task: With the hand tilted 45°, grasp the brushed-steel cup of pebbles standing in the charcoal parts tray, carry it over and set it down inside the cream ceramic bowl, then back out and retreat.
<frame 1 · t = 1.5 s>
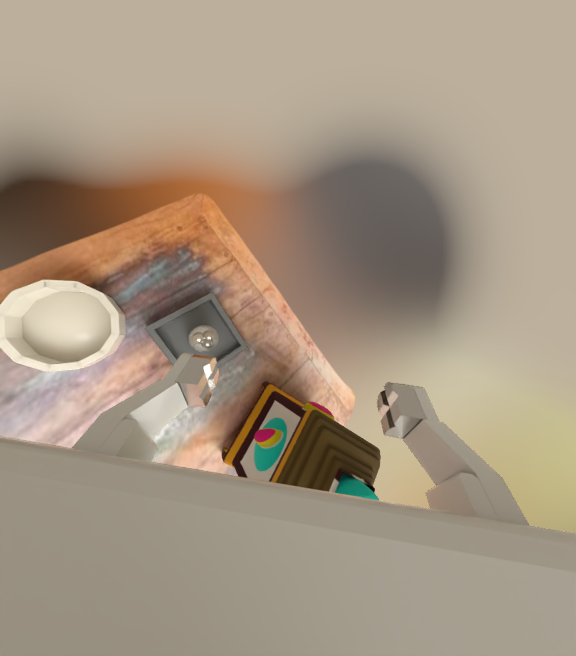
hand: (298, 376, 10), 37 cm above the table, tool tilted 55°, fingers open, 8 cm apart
parts tray: (199, 338, 43), on the table
bowl: (76, 326, 34), on the table
decorative lantern: (272, 429, 49), on the table
pebble cup: (200, 338, 42), point 1 cm above the table, touching parts tray
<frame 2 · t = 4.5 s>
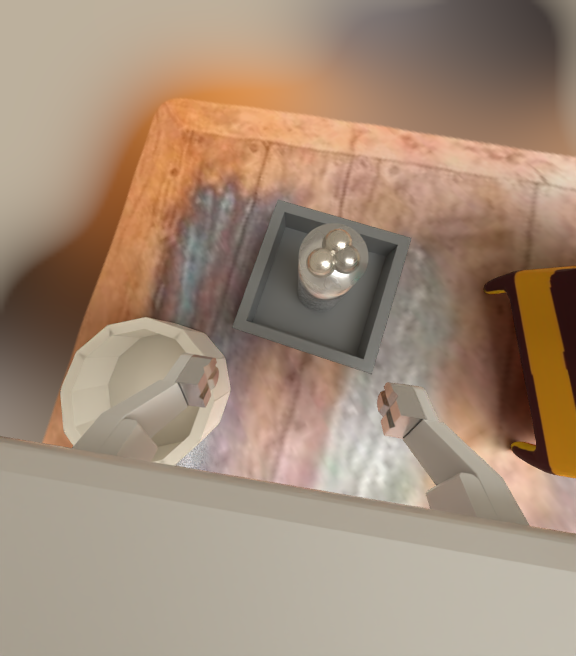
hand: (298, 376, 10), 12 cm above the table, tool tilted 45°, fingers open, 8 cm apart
parts tray: (318, 292, 23), on the table
bowl: (168, 386, 22), on the table
pebble cup: (319, 290, 22), point 1 cm above the table, touching parts tray
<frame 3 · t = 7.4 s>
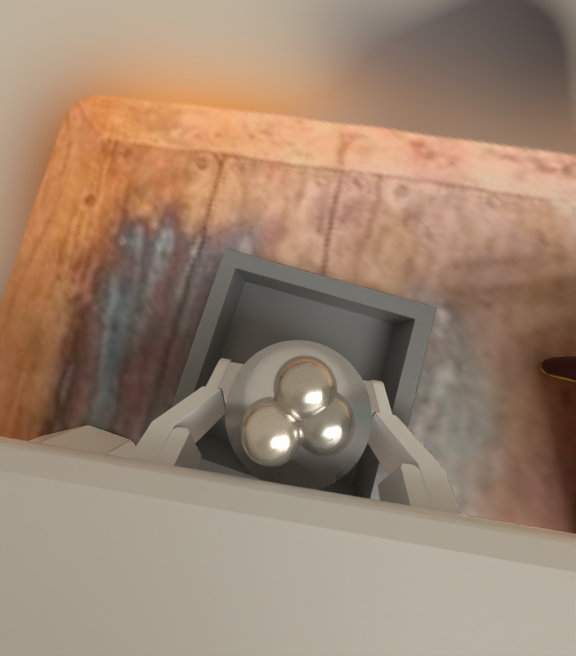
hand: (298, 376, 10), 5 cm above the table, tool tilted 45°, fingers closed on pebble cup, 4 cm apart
parts tray: (296, 375, 15), on the table
bowl: (76, 523, 15), on the table
pebble cup: (296, 377, 14), point 1 cm above the table, touching gripper, parts tray
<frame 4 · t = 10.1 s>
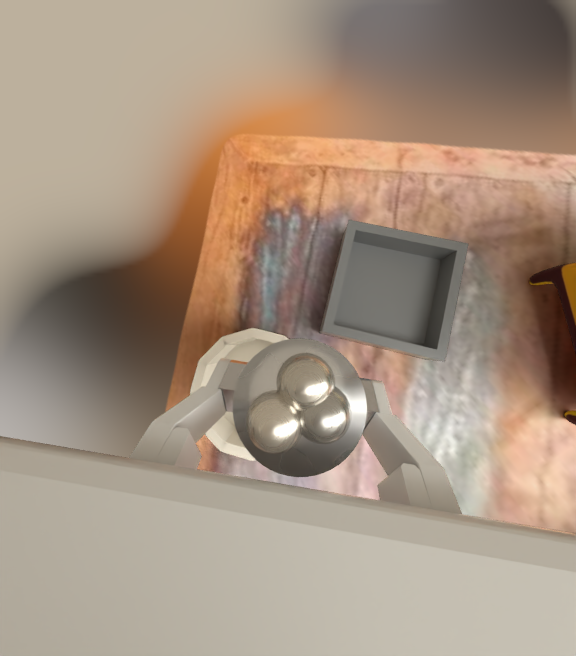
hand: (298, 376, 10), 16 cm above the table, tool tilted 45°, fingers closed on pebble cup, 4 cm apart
parts tray: (382, 295, 26), on the table
bowl: (261, 384, 26), on the table
pebble cup: (296, 375, 15), point 11 cm above the table, touching gripper
when the fingers open (7 cm above the table, at t = 13.0 s): pebble cup drops 1 cm, resting on bowl.
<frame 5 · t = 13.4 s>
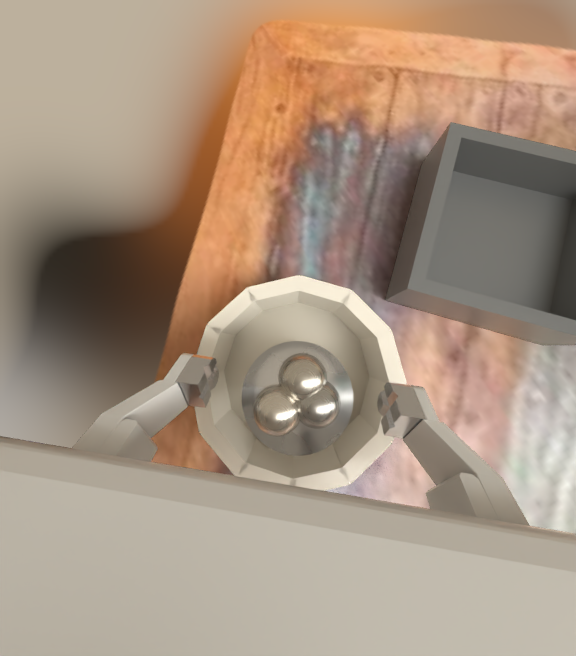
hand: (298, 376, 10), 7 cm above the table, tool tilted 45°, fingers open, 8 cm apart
parts tray: (479, 250, 18), on the table
bowl: (295, 372, 17), on the table
pebble cup: (295, 372, 16), point 1 cm above the table, touching bowl
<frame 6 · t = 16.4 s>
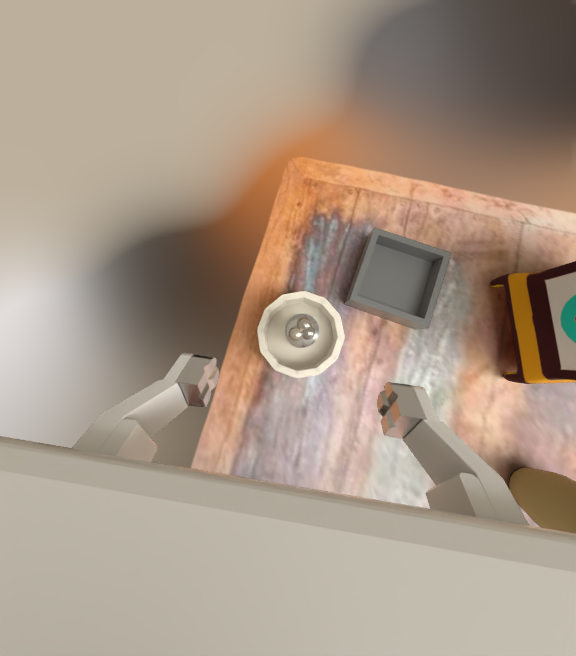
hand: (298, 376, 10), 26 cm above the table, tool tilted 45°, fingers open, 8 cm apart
squeeze bottle: (524, 485, 33), on the table
parts tray: (390, 282, 37), on the table
bowl: (299, 335, 36), on the table
decorative lantern: (542, 327, 36), on the table
pebble cup: (299, 334, 35), point 1 cm above the table, touching bowl
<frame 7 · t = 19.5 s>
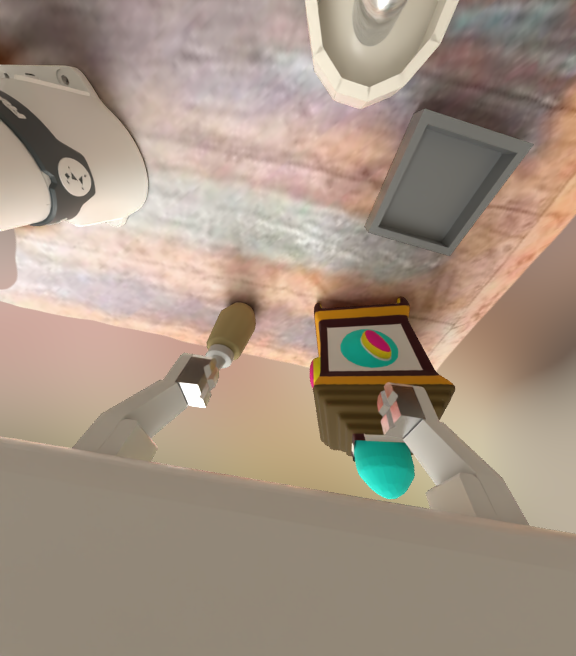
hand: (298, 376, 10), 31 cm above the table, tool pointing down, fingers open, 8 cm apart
squeeze bottle: (242, 312, 48), on the table
parts tray: (428, 191, 30), on the table
bowl: (373, 14, 21), on the table
decorative lantern: (356, 330, 47), on the table
pebble cup: (376, 8, 20), point 1 cm above the table, touching bowl
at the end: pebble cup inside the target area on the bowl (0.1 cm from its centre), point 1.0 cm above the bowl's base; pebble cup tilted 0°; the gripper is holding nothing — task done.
